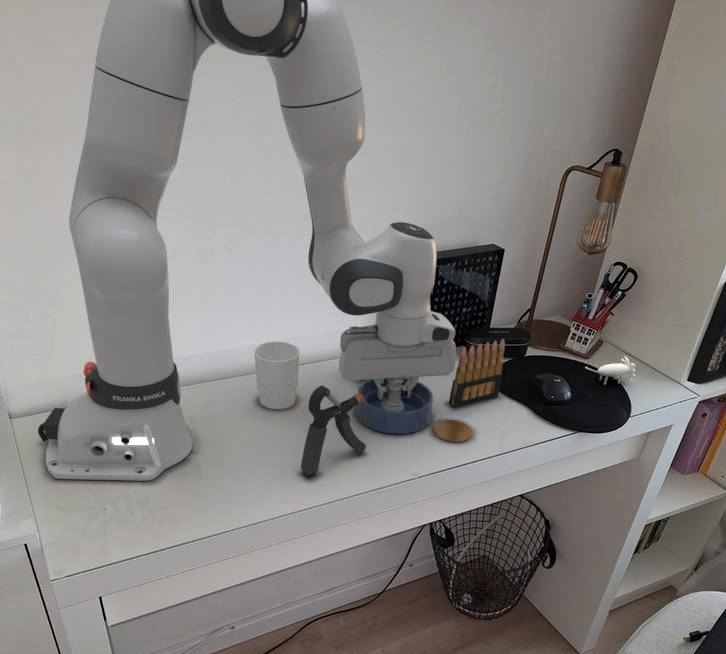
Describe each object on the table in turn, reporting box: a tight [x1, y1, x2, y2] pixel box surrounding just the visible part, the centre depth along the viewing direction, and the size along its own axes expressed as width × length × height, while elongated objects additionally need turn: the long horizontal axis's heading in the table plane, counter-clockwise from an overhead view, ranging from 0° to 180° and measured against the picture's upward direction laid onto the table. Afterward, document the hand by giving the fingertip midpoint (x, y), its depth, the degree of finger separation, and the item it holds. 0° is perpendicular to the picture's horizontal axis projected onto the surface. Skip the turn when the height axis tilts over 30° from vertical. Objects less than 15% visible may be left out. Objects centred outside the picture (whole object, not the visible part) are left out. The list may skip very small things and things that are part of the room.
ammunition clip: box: [448, 338, 506, 409], centre depth 128 cm, size 11×2×12 cm, turn 120°
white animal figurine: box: [584, 355, 638, 386], centre depth 139 cm, size 12×5×5 cm, turn 106°
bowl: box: [356, 377, 434, 435], centre depth 124 cm, size 13×13×4 cm
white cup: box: [253, 341, 300, 410], centre depth 123 cm, size 8×8×10 cm
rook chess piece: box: [380, 378, 405, 412], centre depth 122 cm, size 4×4×8 cm
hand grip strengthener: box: [300, 384, 367, 479], centre depth 107 cm, size 2×12×15 cm, turn 131°
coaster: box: [432, 419, 473, 444], centre depth 122 cm, size 7×7×1 cm
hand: (393, 397), depth 123 cm, fingers closed on rook chess piece, 3 cm apart
